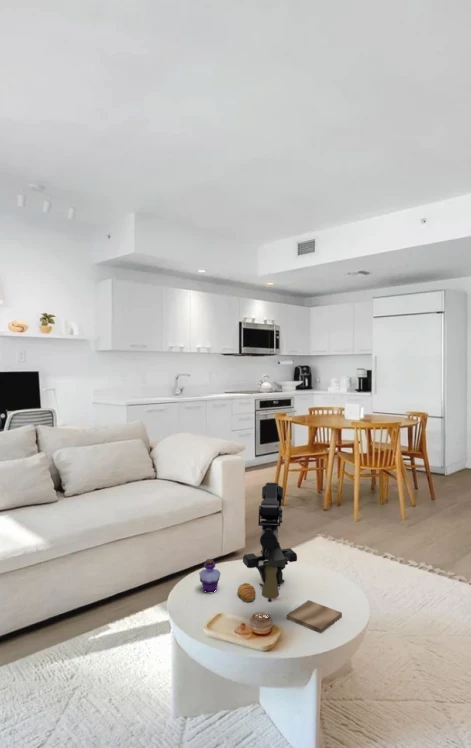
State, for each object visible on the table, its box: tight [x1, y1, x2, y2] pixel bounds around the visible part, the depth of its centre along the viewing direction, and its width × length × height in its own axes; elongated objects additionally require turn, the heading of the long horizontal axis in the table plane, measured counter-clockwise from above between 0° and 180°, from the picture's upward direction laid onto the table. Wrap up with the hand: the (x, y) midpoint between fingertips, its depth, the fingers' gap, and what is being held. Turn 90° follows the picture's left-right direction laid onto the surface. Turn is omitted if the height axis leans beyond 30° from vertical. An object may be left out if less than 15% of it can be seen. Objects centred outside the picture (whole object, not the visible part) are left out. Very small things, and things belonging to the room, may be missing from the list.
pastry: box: [237, 582, 256, 603], centre depth 193 cm, size 9×7×4 cm
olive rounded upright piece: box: [261, 562, 280, 599], centre depth 177 cm, size 6×6×11 cm
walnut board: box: [286, 600, 343, 634], centre depth 177 cm, size 14×14×2 cm
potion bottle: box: [198, 558, 221, 593], centre depth 199 cm, size 9×9×12 cm
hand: (270, 581), depth 177 cm, fingers closed on olive rounded upright piece, 4 cm apart
